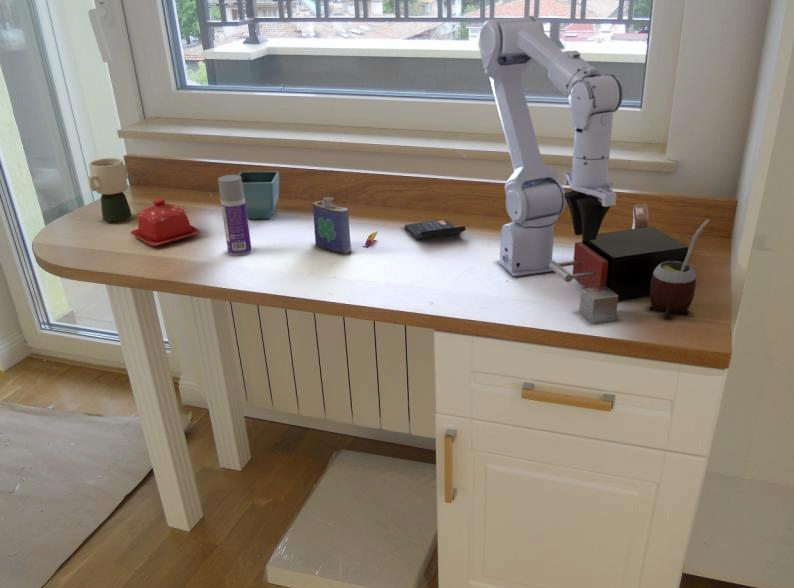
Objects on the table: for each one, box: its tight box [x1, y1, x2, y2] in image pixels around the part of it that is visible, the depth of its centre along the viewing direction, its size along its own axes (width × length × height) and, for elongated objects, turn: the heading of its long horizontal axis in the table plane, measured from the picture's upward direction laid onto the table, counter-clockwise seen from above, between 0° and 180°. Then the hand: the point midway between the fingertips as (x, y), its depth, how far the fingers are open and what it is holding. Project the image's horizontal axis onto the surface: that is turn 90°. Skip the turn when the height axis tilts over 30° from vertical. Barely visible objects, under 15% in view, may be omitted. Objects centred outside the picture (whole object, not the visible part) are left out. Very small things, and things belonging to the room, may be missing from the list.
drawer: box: [549, 241, 612, 289], centre depth 140 cm, size 19×10×7 cm, turn 107°
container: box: [217, 174, 253, 257], centre depth 158 cm, size 5×5×15 cm
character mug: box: [88, 157, 133, 223], centre depth 178 cm, size 11×7×13 cm, turn 154°
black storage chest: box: [581, 226, 689, 302], centre depth 141 cm, size 14×11×8 cm
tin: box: [631, 203, 650, 229], centre depth 155 cm, size 15×3×8 cm, turn 168°
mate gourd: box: [649, 218, 711, 320], centre depth 130 cm, size 8×8×15 cm
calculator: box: [404, 219, 466, 241], centre depth 168 cm, size 9×12×3 cm
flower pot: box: [238, 170, 280, 220], centre depth 179 cm, size 9×9×9 cm
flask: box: [312, 196, 352, 255], centre depth 159 cm, size 9×3×11 cm, turn 50°
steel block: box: [578, 286, 619, 325], centre depth 132 cm, size 4×4×4 cm
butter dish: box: [129, 197, 201, 247], centre depth 168 cm, size 12×12×8 cm
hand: (585, 236), depth 136 cm, fingers closed
